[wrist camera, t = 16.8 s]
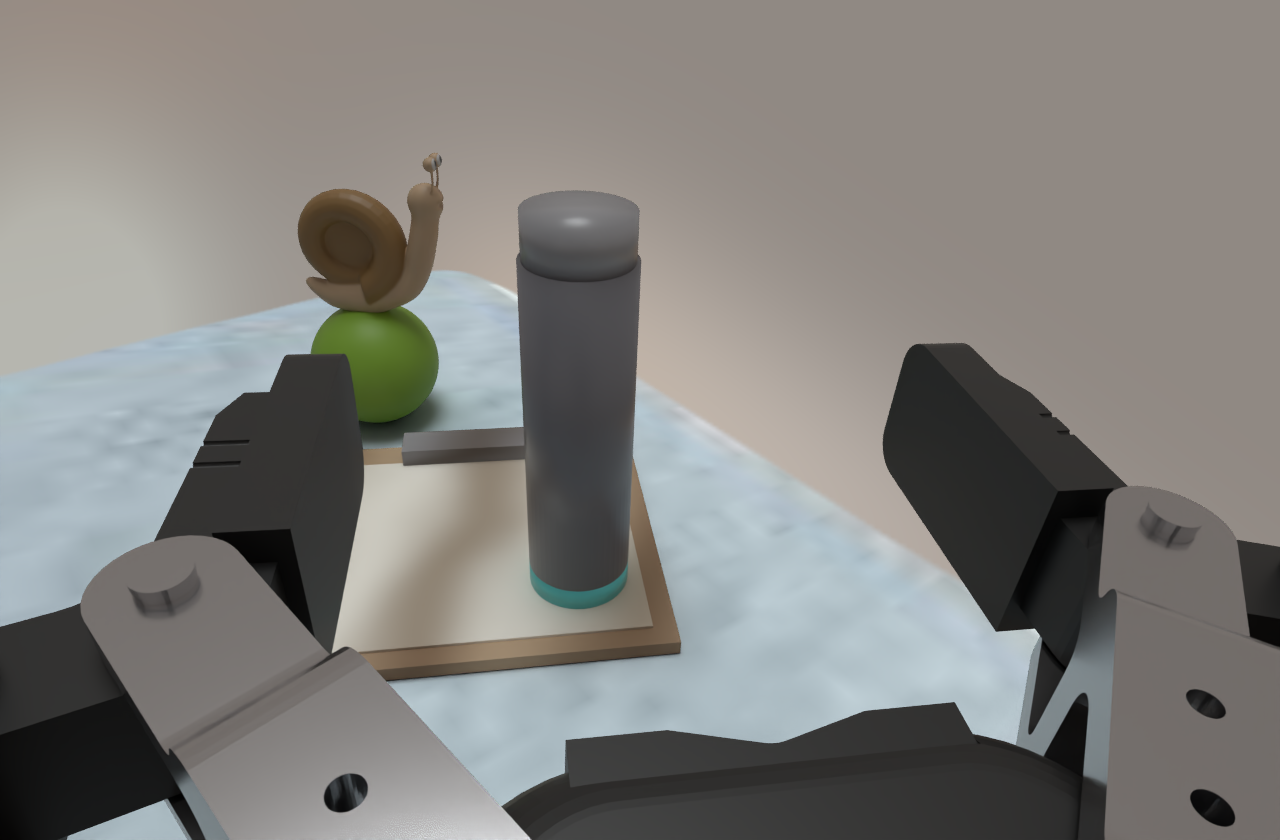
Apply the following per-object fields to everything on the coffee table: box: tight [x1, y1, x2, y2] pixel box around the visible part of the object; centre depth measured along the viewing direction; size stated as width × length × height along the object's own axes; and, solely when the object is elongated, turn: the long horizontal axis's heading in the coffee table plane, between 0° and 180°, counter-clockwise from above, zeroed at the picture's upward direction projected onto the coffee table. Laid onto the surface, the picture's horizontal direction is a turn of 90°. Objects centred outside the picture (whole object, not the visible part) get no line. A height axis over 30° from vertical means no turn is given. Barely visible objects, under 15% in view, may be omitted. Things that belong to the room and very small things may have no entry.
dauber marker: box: [516, 191, 641, 609], centre depth 25 cm, size 3×3×13 cm
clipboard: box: [332, 427, 681, 680], centre depth 30 cm, size 14×12×1 cm
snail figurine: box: [298, 153, 443, 423], centre depth 35 cm, size 5×6×12 cm
